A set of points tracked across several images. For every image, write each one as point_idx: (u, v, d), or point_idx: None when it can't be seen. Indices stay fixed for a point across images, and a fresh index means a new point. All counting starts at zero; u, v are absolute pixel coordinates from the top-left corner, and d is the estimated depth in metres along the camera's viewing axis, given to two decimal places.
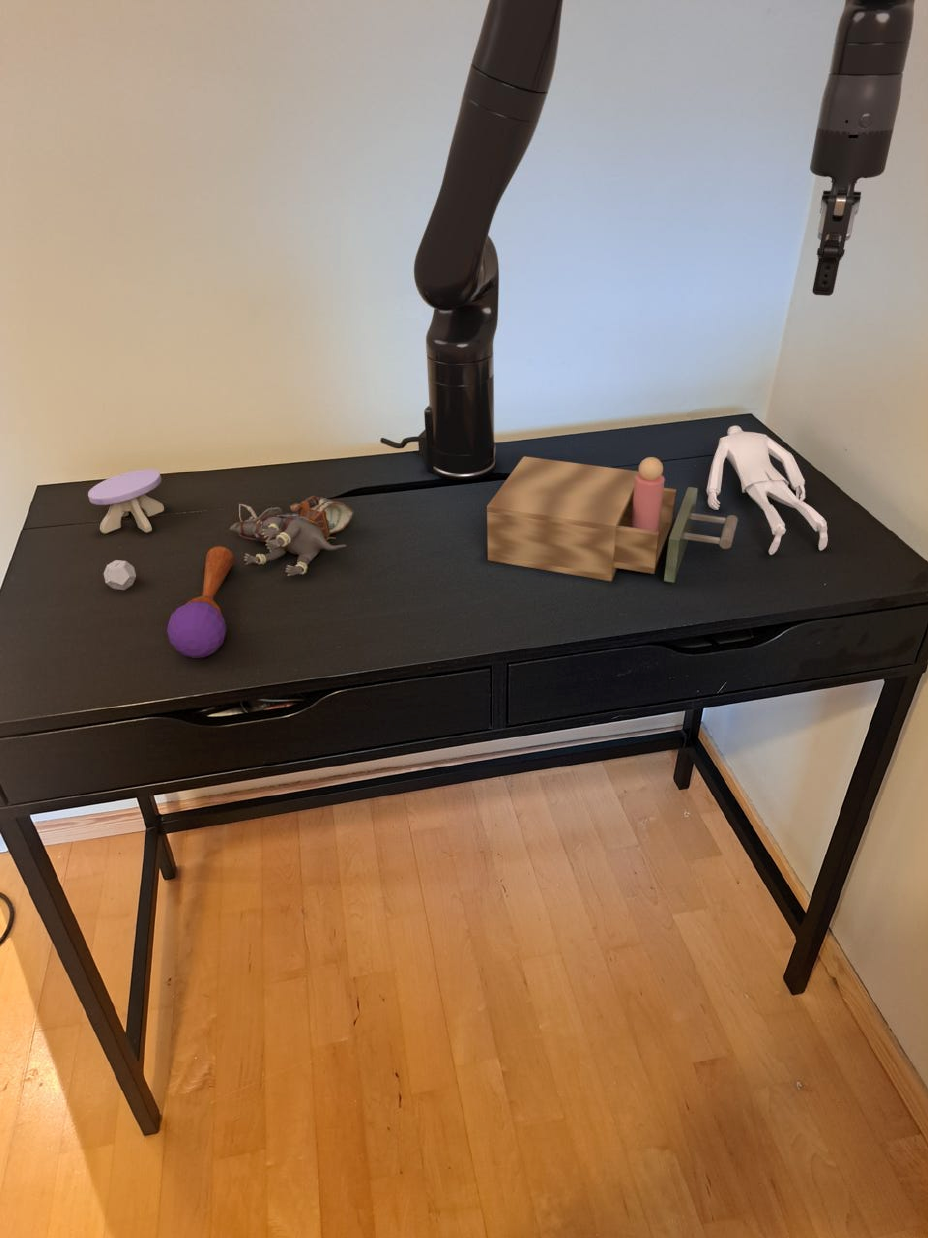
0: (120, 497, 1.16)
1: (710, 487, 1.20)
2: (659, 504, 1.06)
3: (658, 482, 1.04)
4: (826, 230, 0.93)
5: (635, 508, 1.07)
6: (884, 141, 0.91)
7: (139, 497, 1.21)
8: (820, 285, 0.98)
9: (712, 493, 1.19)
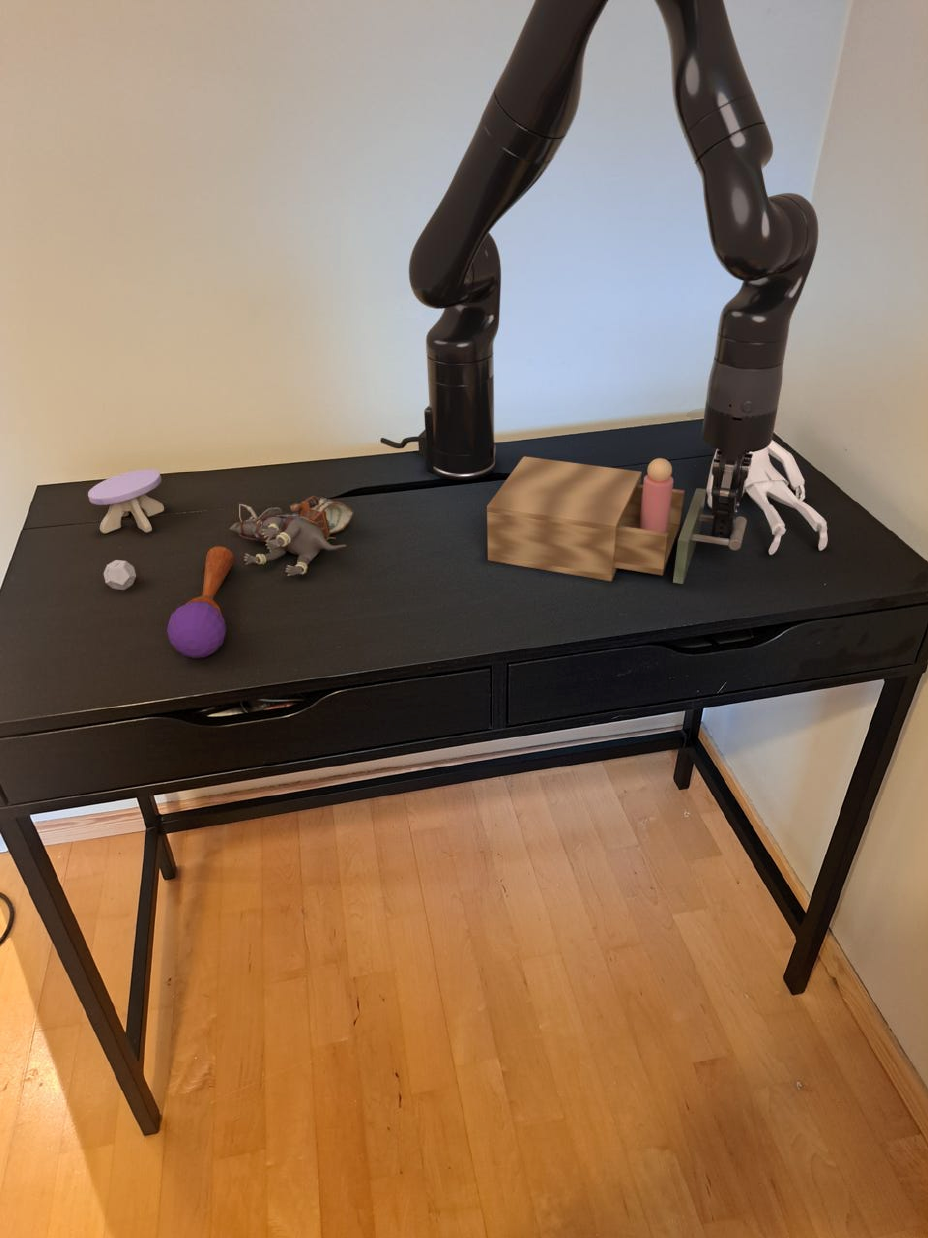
0: (120, 497, 1.16)
1: (710, 487, 1.20)
2: (668, 505, 1.06)
3: (667, 483, 1.04)
4: (715, 508, 1.00)
5: (644, 509, 1.06)
6: (767, 422, 0.95)
7: (139, 497, 1.21)
8: (717, 535, 1.05)
9: None
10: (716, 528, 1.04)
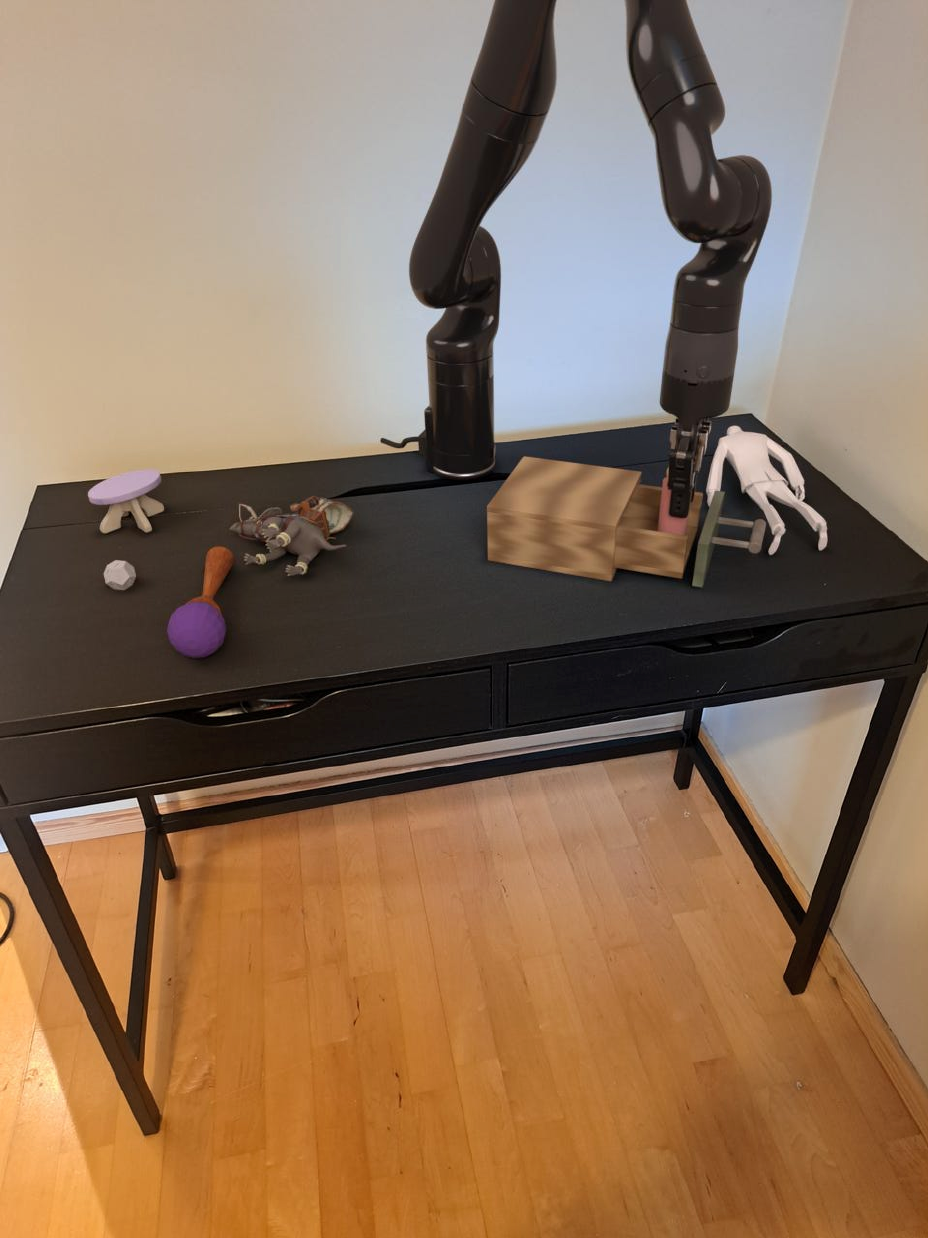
0: (120, 497, 1.16)
1: (710, 487, 1.20)
2: None
3: None
4: (672, 475, 0.98)
5: (663, 512, 1.06)
6: (723, 387, 0.94)
7: (139, 497, 1.21)
8: (674, 510, 1.03)
9: (712, 493, 1.19)
10: (673, 503, 1.03)
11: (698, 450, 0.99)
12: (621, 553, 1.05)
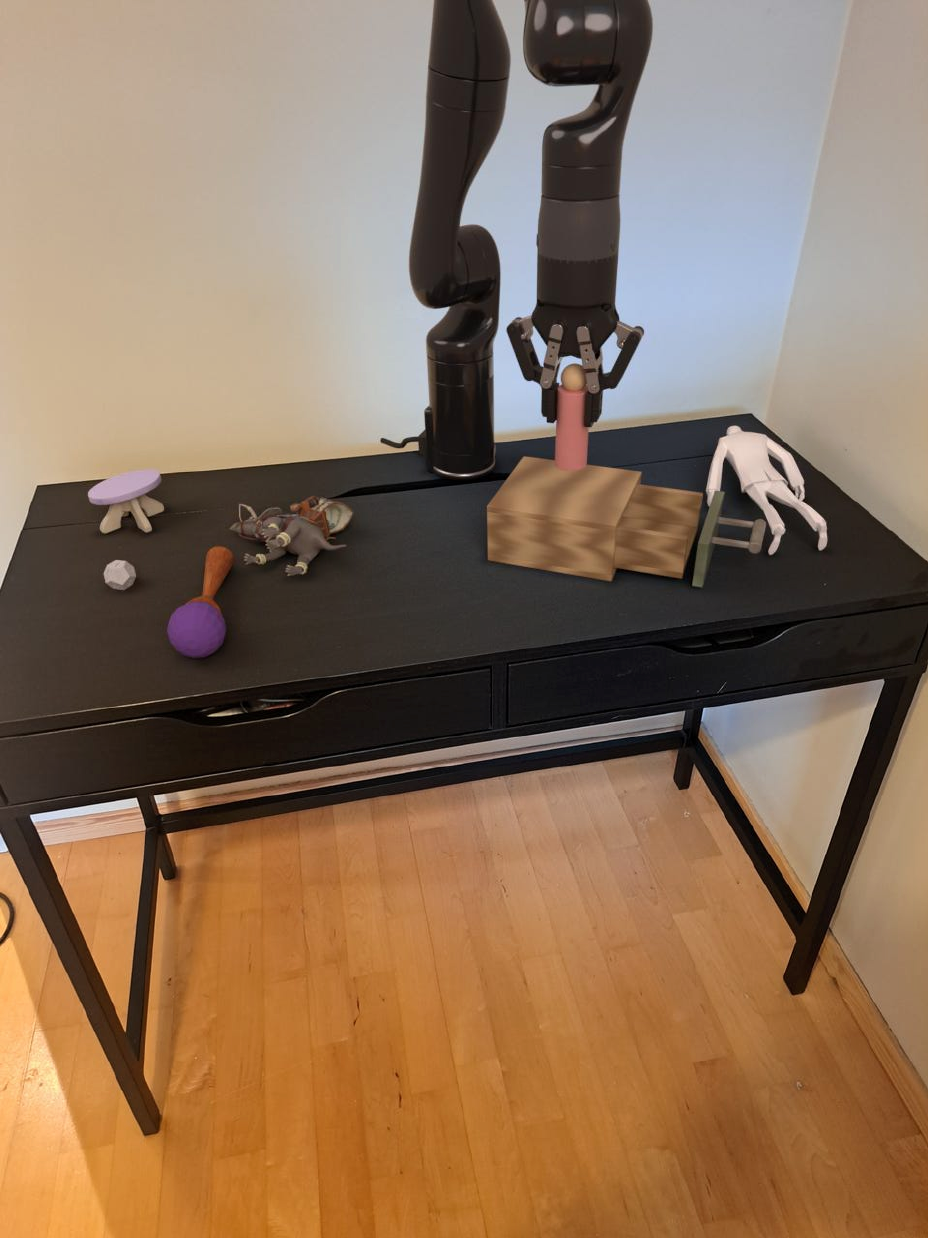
0: (120, 497, 1.16)
1: (709, 487, 1.20)
2: (562, 419, 0.92)
3: (562, 391, 0.91)
4: None
5: None
6: (546, 269, 0.82)
7: (139, 497, 1.21)
8: None
9: (711, 493, 1.19)
10: None
11: None
12: (621, 553, 1.05)
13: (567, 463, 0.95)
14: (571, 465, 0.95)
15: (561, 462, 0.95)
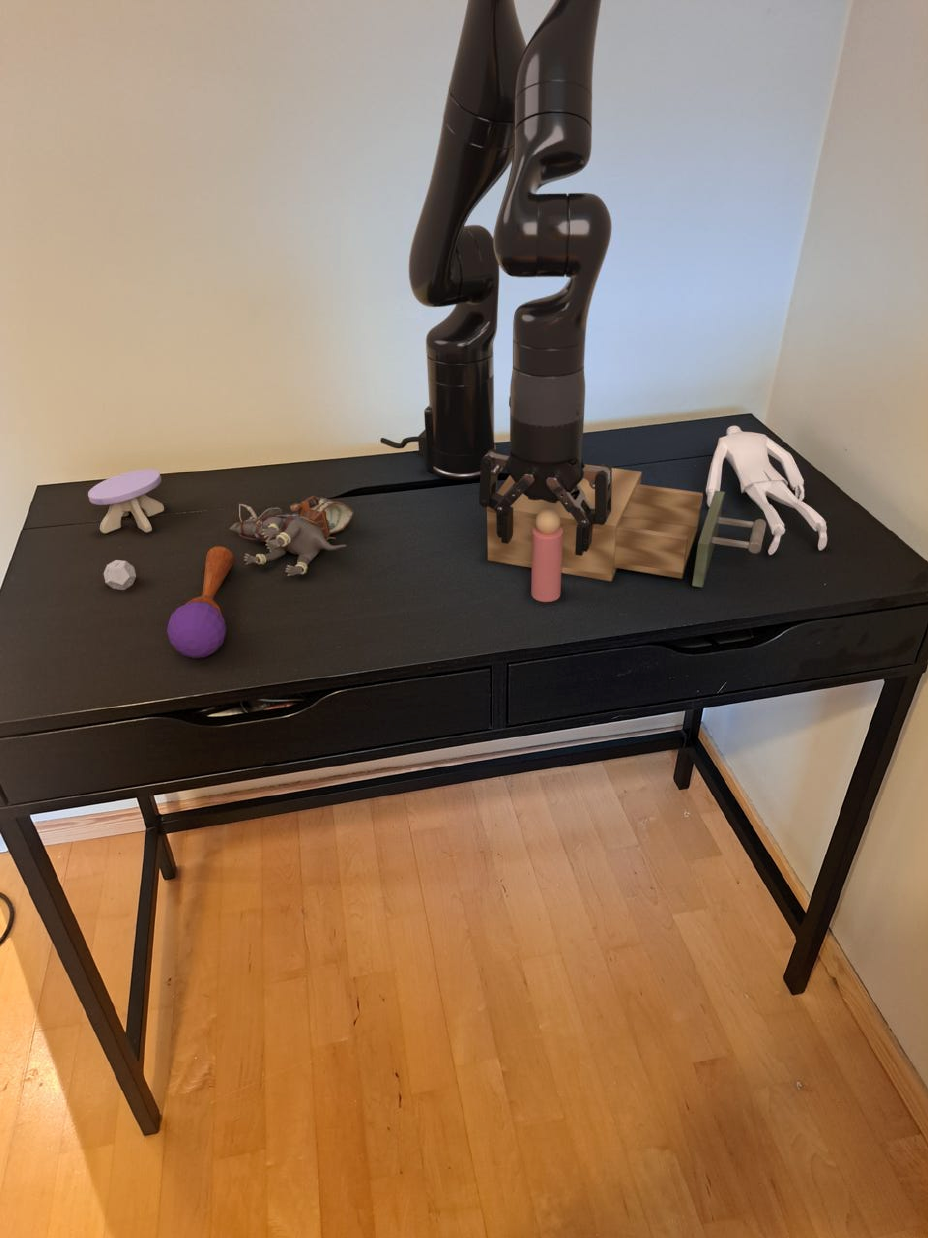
0: (120, 497, 1.16)
1: (709, 487, 1.20)
2: (536, 558, 1.00)
3: (536, 534, 0.99)
4: None
5: None
6: (517, 429, 0.90)
7: (139, 497, 1.21)
8: None
9: (711, 493, 1.19)
10: None
11: (516, 482, 0.95)
12: (621, 553, 1.05)
13: (542, 595, 1.03)
14: (545, 597, 1.03)
15: (536, 594, 1.03)
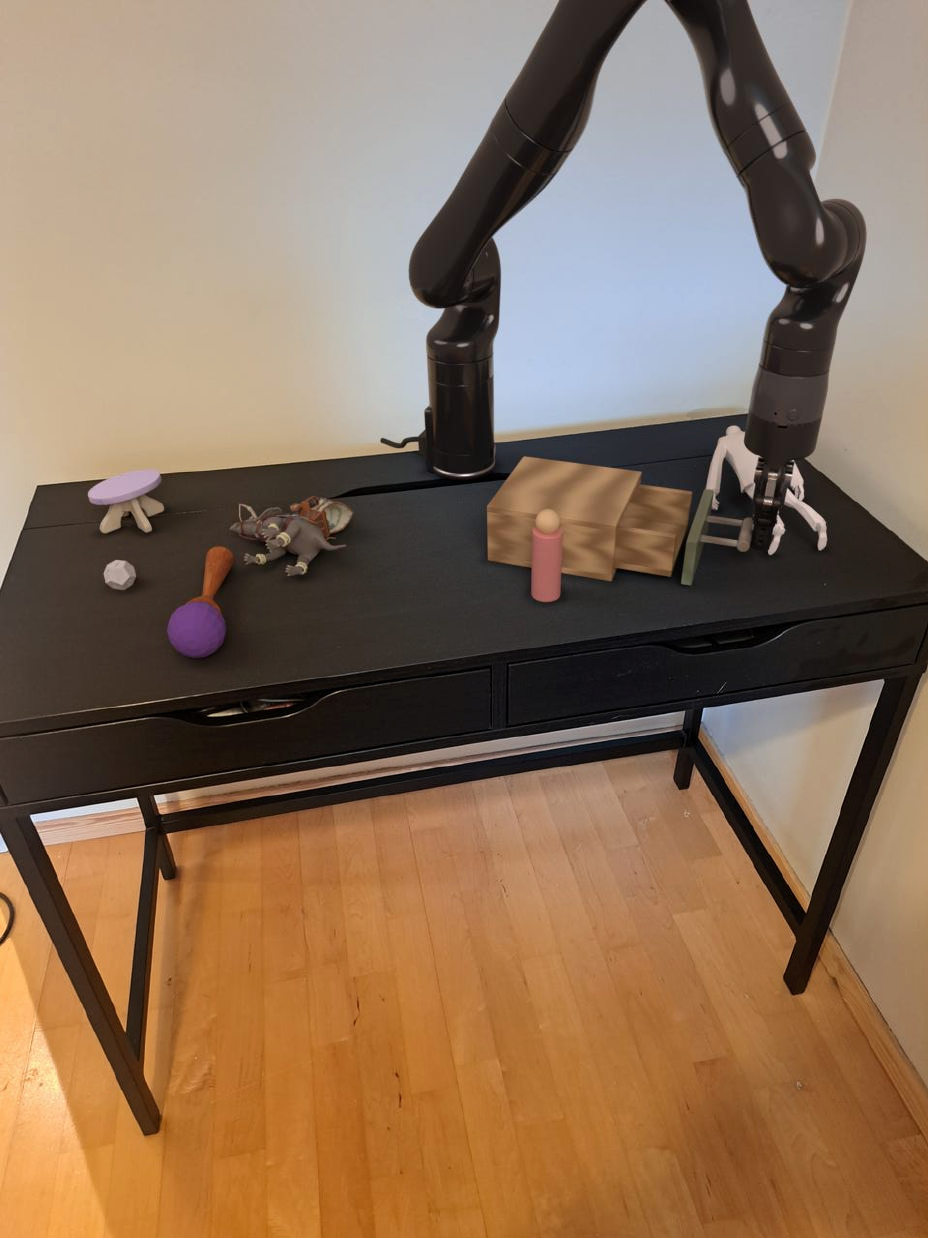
0: (120, 497, 1.16)
1: (709, 487, 1.20)
2: (536, 558, 1.00)
3: (536, 534, 0.99)
4: (757, 516, 0.99)
5: None
6: (813, 430, 0.94)
7: (139, 497, 1.21)
8: (757, 543, 1.04)
9: None
10: (756, 536, 1.03)
11: (783, 490, 0.99)
12: None
13: (542, 595, 1.03)
14: (545, 597, 1.03)
15: (536, 594, 1.03)
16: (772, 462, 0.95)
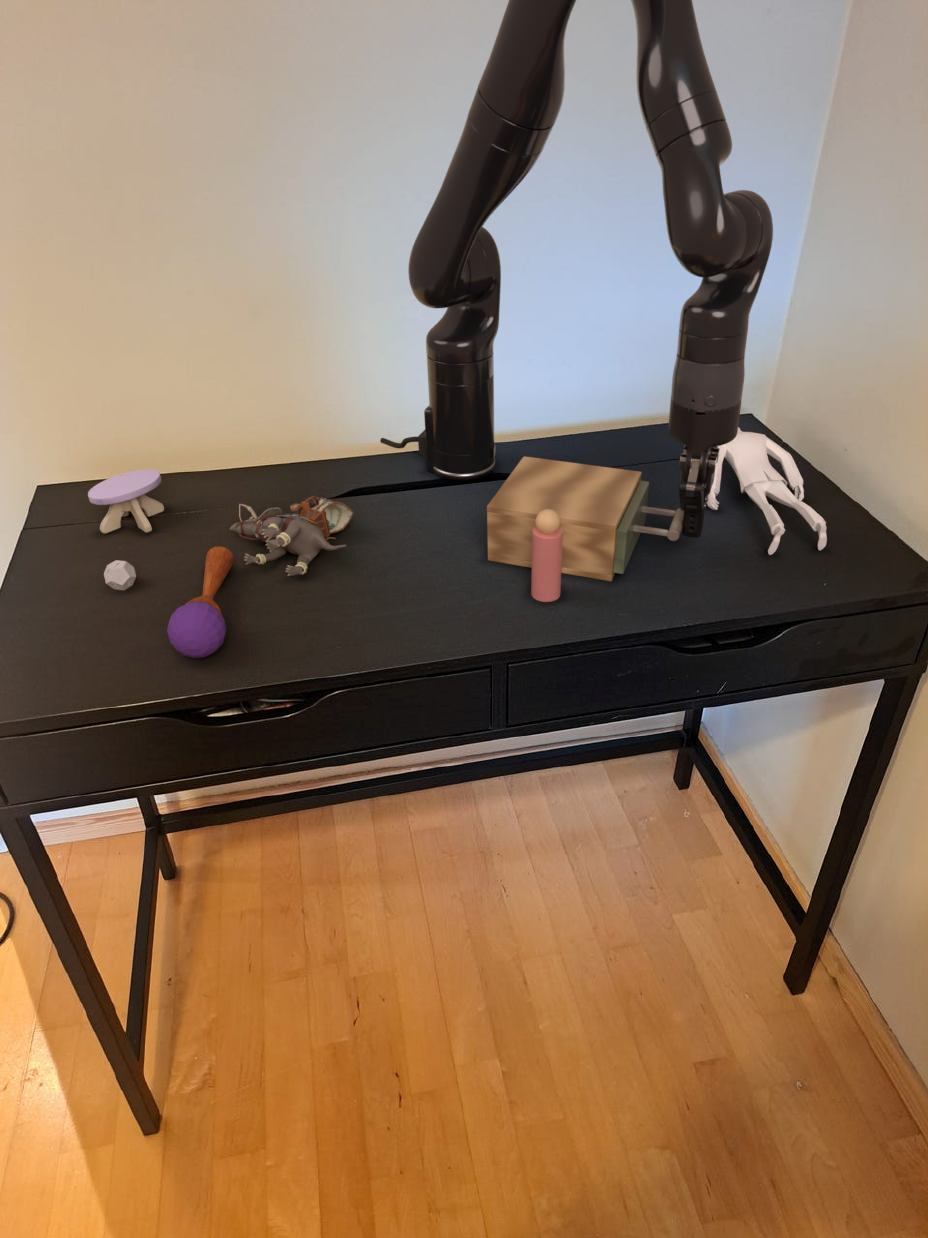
0: (120, 497, 1.16)
1: None
2: (536, 558, 1.00)
3: (536, 534, 0.99)
4: (683, 502, 1.01)
5: None
6: (731, 416, 0.96)
7: (139, 497, 1.21)
8: (687, 530, 1.06)
9: (711, 493, 1.19)
10: (686, 523, 1.05)
11: (708, 477, 1.01)
12: None
13: (542, 595, 1.03)
14: (545, 597, 1.03)
15: (536, 594, 1.03)
16: (694, 448, 0.98)
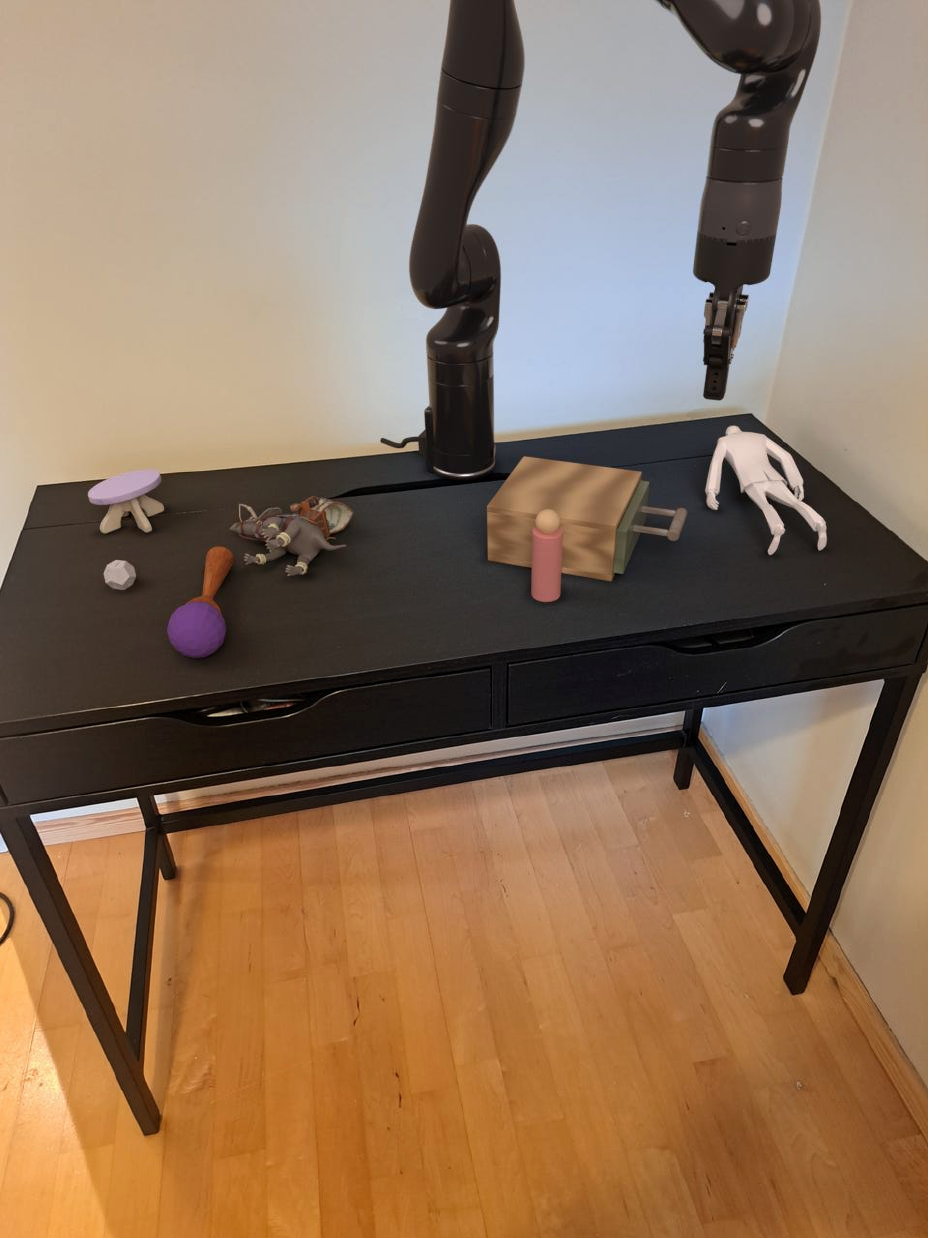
0: (120, 497, 1.16)
1: (709, 487, 1.20)
2: (536, 558, 1.00)
3: (536, 534, 0.99)
4: (708, 352, 0.91)
5: None
6: (765, 248, 0.86)
7: (139, 497, 1.21)
8: (710, 391, 0.96)
9: (711, 493, 1.19)
10: (709, 382, 0.95)
11: (735, 325, 0.91)
12: None
13: (542, 595, 1.03)
14: (545, 597, 1.03)
15: (536, 594, 1.03)
16: (722, 287, 0.87)
